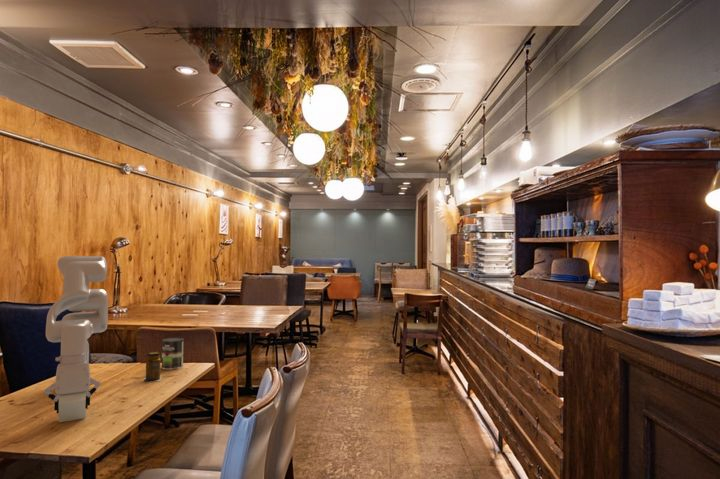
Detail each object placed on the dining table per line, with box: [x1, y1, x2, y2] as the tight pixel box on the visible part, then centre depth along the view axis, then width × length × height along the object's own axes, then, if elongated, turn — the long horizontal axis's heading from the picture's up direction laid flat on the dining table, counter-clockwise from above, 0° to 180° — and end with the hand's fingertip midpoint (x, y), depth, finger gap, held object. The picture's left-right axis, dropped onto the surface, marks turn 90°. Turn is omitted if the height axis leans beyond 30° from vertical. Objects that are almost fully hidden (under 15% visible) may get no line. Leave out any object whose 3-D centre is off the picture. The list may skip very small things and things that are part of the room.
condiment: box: [143, 351, 162, 383], centre depth 205 cm, size 7×8×12 cm
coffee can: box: [160, 337, 185, 371], centre depth 227 cm, size 10×10×14 cm
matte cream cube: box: [58, 391, 87, 423], centre depth 155 cm, size 8×8×9 cm
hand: (72, 409), depth 155 cm, fingers closed on matte cream cube, 7 cm apart
